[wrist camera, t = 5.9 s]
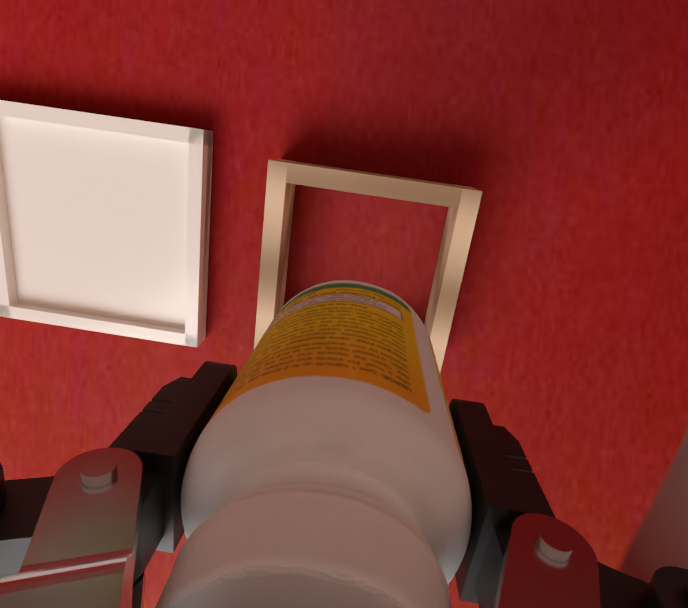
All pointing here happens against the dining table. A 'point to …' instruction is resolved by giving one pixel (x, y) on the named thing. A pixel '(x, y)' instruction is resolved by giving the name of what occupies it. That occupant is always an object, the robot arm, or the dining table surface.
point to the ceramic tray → (104, 223)
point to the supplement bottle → (327, 467)
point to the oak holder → (453, 196)
